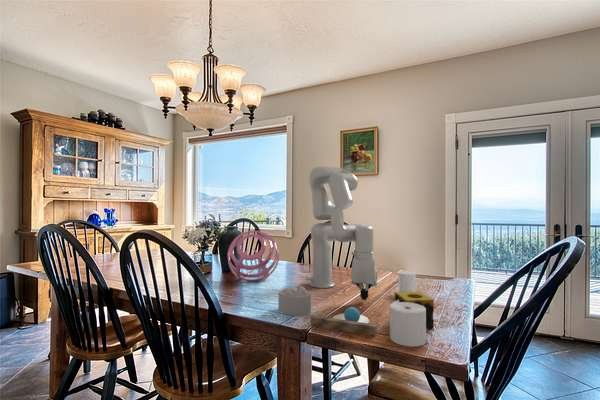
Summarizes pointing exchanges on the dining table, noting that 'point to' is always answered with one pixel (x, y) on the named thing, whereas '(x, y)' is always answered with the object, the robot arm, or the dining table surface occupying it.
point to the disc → (362, 320)
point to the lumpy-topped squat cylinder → (294, 301)
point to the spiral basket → (253, 257)
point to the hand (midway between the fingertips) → (364, 299)
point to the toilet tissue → (407, 323)
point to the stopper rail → (344, 325)
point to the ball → (352, 314)
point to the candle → (421, 300)
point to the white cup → (406, 281)
